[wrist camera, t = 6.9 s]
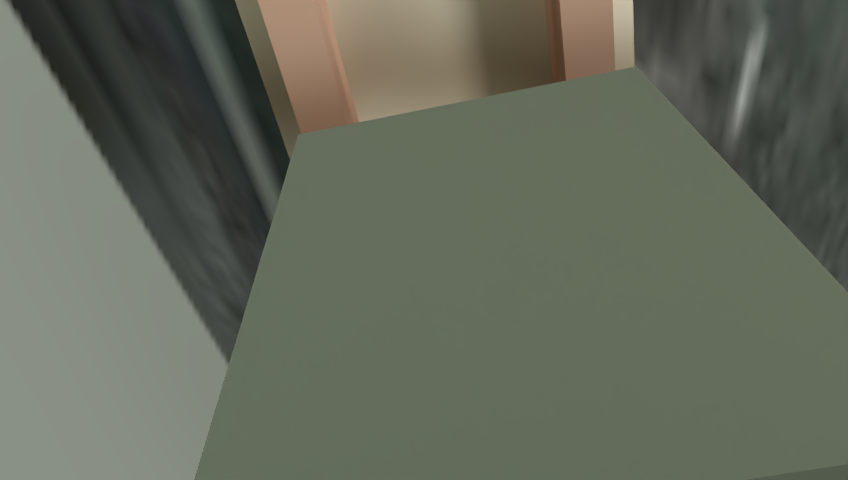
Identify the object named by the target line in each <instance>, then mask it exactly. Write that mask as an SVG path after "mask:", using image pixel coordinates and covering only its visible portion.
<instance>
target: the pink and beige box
mask: <svg viewBox="0 0 848 480" xmlns="http://www.w3.org/2000/svg"><path fill="white" fill-rule="evenodd" d="M235 2H236V5H237V8H238V11H239V14H240V17H241V20H242V23H243V25H244V28H245V31H246V34H247V37H248V40H249V43H250V46H251V49H252V51H253V54H254V57H255V60H256V63H257V66H258V69H259V72H260V75H261V78H262V80H263V83H264V86H265V89H266V92H267V95H268V98H269V101H270V104H271V106H272V109H273V112H274V115H275V118H276V121H277V124H278V127H279V130H280V132H281V135H282V138H283V141H284V144H285V147H286V150H287V153H288V156H289V159H290V160H291V157H292V153H293V150H294V147H295V143H296V140H297V137H298V134H303V133H308V132H313V131H318V130H323V129H328V128H333V127H338V126H343V125H348V124H353V123H358V122H363V121H368V120H373V119H378V118H383V117H388V116H393V115H398V114H403V113H408V112H413V111H418V110H423V109H428V108H433V107H437V106H442V105H447V104H452V103H457V102H462V101H467V100H472V99H477V98H482V97H487V96H492V95H497V94H502V93H507V92H512V91H517V90H522V89H527V88H532V87H537V86H542V85H547V84H552V83H557V82H562V81H567V80H572V79H577V78H582V77H587V76H592V75H597V74H601V73H606V72H611V71H616V70H621V69H626V68H631V67H634V26H633V0H235Z"/></svg>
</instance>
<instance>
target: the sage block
mask: <svg viewBox="0 0 848 480" xmlns="http://www.w3.org/2000/svg"><path fill="white" fill-rule="evenodd" d="M195 480H848V292H847V291H846V290H845V289H844V288H843V287H842V286H841V285H840V284H839V283H838V281H837V280H836V279H835V278H834V277H833V276H832V275H831V274H830V273H829V272H828V271H827V270H826V269H825V268H824V266H823V265H822V264H821V263H820V262H819V261H818V260H817V259H816V258H815V257H814V256H813V255H812V254H811V253H810V251H809V250H808V249H807V248H806V247H805V246H804V245H803V244H802V243H801V242H800V241H799V240H798V239H797V238H796V236H795V235H794V234H793V233H792V232H791V231H790V230H789V229H788V228H787V227H786V226H785V225H784V224H783V223H782V221H781V220H780V219H779V218H778V217H777V216H776V215H775V214H774V213H773V212H772V211H771V210H770V209H769V208H768V206H767V205H766V204H765V203H764V202H763V201H762V200H761V199H760V198H759V197H758V196H757V195H756V194H755V193H754V191H753V190H752V189H751V188H750V187H749V186H748V185H747V184H746V183H745V182H744V181H743V180H742V179H741V178H740V177H739V175H738V174H737V173H736V172H735V171H734V170H733V169H732V168H731V167H730V166H729V165H728V164H727V163H726V162H725V160H724V159H723V158H722V157H721V156H720V155H719V154H718V153H717V152H716V151H715V150H714V149H713V148H712V147H711V145H710V144H709V143H708V142H707V141H706V140H705V139H704V138H703V137H702V136H701V135H700V134H699V133H698V132H697V130H696V129H695V128H694V127H693V126H692V125H691V124H690V123H689V122H688V121H687V120H686V119H685V118H684V117H683V115H682V114H681V113H680V112H679V111H678V110H677V109H676V108H675V107H674V106H673V105H672V104H671V103H670V102H669V100H668V99H667V98H666V97H665V96H664V95H663V94H662V93H661V92H660V91H659V90H658V89H657V88H656V87H655V85H654V84H653V83H652V82H651V81H650V80H649V79H648V78H647V77H646V76H645V75H644V74H643V73H642V72H641V70H640V69H639V68H638V67H637V66H636V67H631V68H626V69H621V70H616V71H611V72H606V73H601V74H597V75H592V76H587V77H582V78H577V79H572V80H567V81H562V82H557V83H552V84H547V85H542V86H537V87H532V88H527V89H522V90H517V91H512V92H507V93H502V94H497V95H492V96H487V97H482V98H477V99H472V100H467V101H462V102H457V103H452V104H447V105H442V106H437V107H433V108H428V109H423V110H418V111H413V112H408V113H403V114H398V115H393V116H388V117H383V118H378V119H373V120H368V121H363V122H358V123H353V124H348V125H343V126H338V127H333V128H328V129H323V130H318V131H313V132H308V133H303V134H298V137H297V140H296V143H295V147H294V150H293V153H292V157H291V160H290V163H289V167H288V170H287V173H286V177H285V180H284V183H283V187H282V190H281V193H280V197H279V200H278V203H277V207H276V210H275V213H274V216H273V220H272V223H271V226H270V230H269V233H268V236H267V240H266V243H265V246H264V250H263V253H262V256H261V260H260V263H259V266H258V270H257V273H256V276H255V280H254V283H253V286H252V290H251V293H250V296H249V300H248V303H247V306H246V310H245V313H244V316H243V320H242V323H241V326H240V330H239V333H238V336H237V340H236V343H235V346H234V350H233V353H232V356H231V360H230V363H229V366H228V370H227V373H226V377H225V380H224V383H223V386H222V390H221V393H220V396H219V400H218V403H217V407H216V410H215V413H214V416H213V420H212V423H211V426H210V430H209V433H208V436H207V440H206V443H205V446H204V450H203V453H202V456H201V460H200V463H199V466H198V470H197V473H196V476H195Z"/></svg>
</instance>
